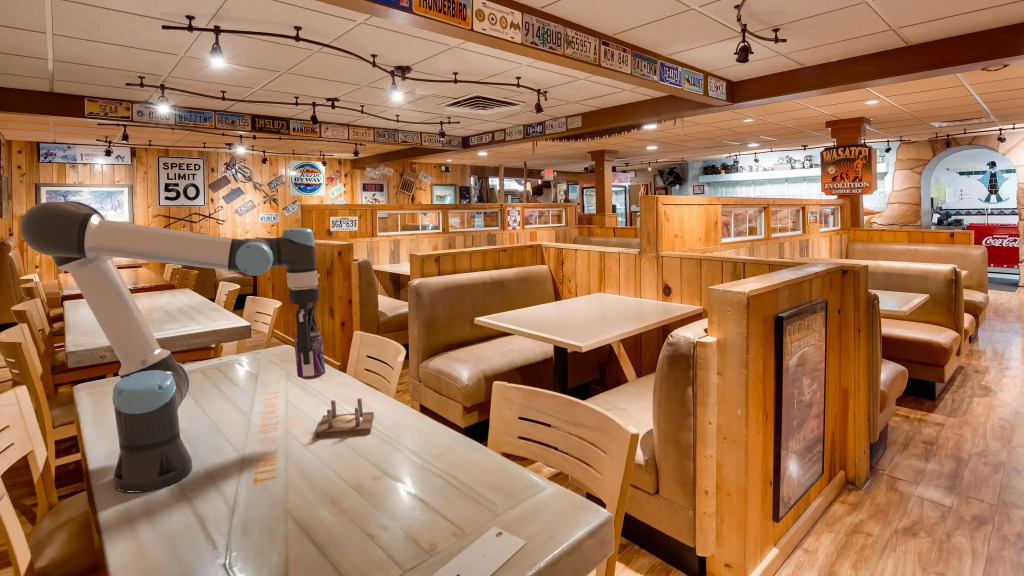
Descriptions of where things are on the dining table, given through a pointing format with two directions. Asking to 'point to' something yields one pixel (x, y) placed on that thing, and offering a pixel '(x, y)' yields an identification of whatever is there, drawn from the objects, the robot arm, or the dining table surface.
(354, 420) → the pin board
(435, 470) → the dining table surface
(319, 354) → the beverage can
